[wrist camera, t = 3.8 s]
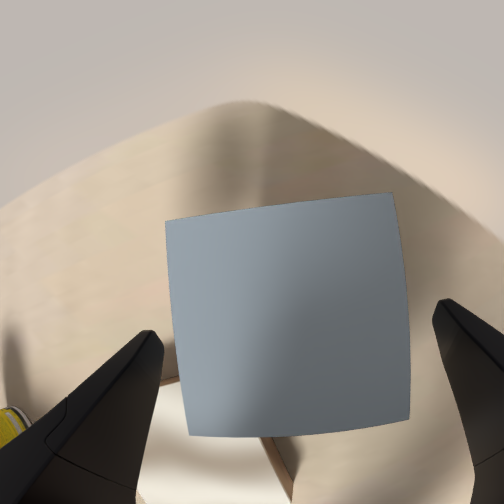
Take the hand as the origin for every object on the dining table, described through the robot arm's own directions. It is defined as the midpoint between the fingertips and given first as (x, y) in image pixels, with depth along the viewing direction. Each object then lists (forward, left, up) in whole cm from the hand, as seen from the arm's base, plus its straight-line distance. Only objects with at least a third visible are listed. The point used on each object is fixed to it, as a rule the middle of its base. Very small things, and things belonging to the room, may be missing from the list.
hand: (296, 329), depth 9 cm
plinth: (-3, +11, -9) cm, 15 cm away
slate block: (0, 0, -9) cm, 9 cm away
